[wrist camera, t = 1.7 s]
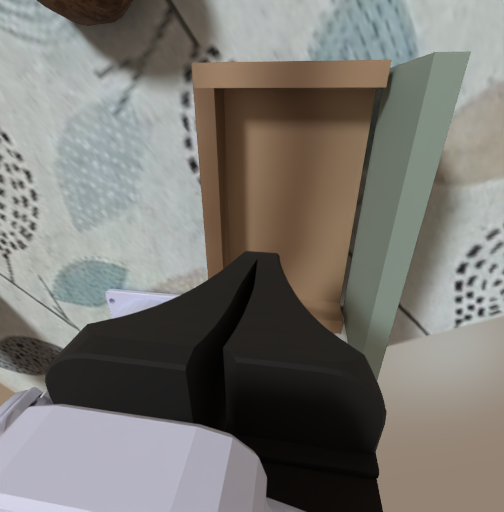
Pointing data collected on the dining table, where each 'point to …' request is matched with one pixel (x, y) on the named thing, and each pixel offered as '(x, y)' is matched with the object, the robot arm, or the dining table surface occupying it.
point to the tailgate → (398, 193)
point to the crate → (285, 166)
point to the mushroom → (89, 10)
